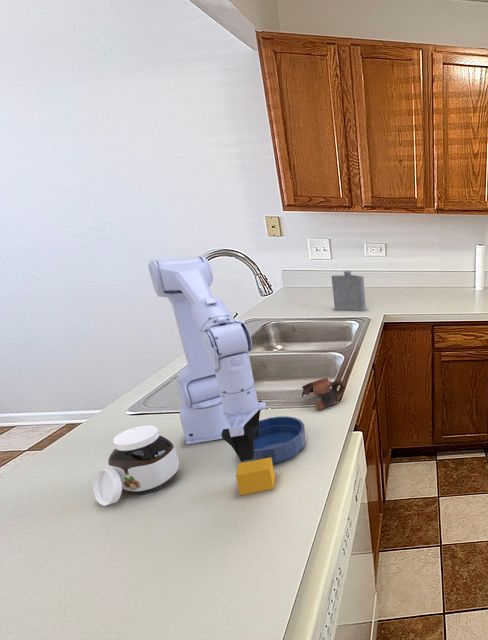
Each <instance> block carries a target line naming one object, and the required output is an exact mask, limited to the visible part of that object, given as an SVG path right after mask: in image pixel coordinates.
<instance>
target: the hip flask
mask: <svg viewBox="0 0 488 640" xmlns="http://www.w3.org/2000/svg"><path fill="white" fill-rule="evenodd" d="M343 274H344V275H343ZM343 274H342V275H337V274H335V275H331V285H332V296H333V304H334V310H335V311H356V312H364V311H365V312H366V310H367V305H366V293H365V280H364V279H365V278H364V276H363V275H359V274H352V271H351V270H344V271H343Z"/></svg>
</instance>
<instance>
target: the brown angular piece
mask: <svg viewBox="0 0 488 640" xmlns="http://www.w3.org/2000/svg"><path fill="white" fill-rule="evenodd" d="M338 386H340V388H339V390H338V389H337V388H338ZM301 388H302V392H301V397H302V398H304V396H309V395H310V394H311V393H313V394H314V395H316V396H318V397H319V399H320V400H319V401H317V402H315V403H314V407H315V409H316V410H317V411H320V410H323V409H326V408H329V407H332V406H335V405H336V404H337V400H338V399H339V397H340V396H342V395H343V394H344V393H345V391H346V384H345V382H344V381H343V380H335V381H330V380H329V378H328V377H323V378H319V379H318V380H315V381H312V382H309V383H307V384H303V386H301Z"/></svg>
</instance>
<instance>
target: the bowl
mask: <svg viewBox="0 0 488 640" xmlns="http://www.w3.org/2000/svg"><path fill="white" fill-rule="evenodd" d="M306 443H307V435H306V428H305V424H304V422H303V421H302V419H299V418H297V417H293V416H287V415H285V416H283V415H282V416H271V417H268V418H264V419H259V434H258V437H256V438H254V457H253V459H251V460H246V461H243V462H249V461H254V460H260V459H265V458H270V457H271V458H272V463H273V465H277V464H280V463H283V462H285V461H287V460H289V459H291V458H294V456H296V455H297V454H298V453H300V451H301V450H302V449H303V448H304V446H305V445H306Z"/></svg>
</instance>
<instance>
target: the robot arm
mask: <svg viewBox="0 0 488 640" xmlns="http://www.w3.org/2000/svg"><path fill="white" fill-rule="evenodd" d="M148 273H149V275H150V276H149V277H150V279H151V283H152V286H153V289H154V292H155V294H156V296H157V297H160V298H167V299H168V301H169V302H170V304H171V306H172V309H173V315H174V318H175V322H176V325H177V329H178V332H179V338H180V341H181V345H182V348H183V352H184V356H185V359H186V363H187V364H186V365H185V367H183V368H182V369H181V370H180V371H179V372H177V374H176V377H175V379H176V387H177V392H178V395H179V398H180V401H181V403H182V405H181V406H180V410H179V419H180V424H181V427H182V430H183V431H182V432H183V434H184V438H185V445H192V444H193V445H194V444H199V443H206V442H212V441H217V440H223V441H225V442H226V443H227V444H228V445H230V447H231V448H232V450H233V451H234V453H235V454H236V456H237V457H238V459H239V461H240V462H244V461H246V460H251V459H253V457H254V438H256V437H258V434H259V421H260V417H261V411H264V410H265V409H266V407H267V404H266V402H265V401H263V400H258V399H259V398H258V395H257V389H256V384H255V383H256V382H255V379H254V373H253V367H252V363H251V357H250V353H249V352H252V351H253V340H252V337H251V333H250V331H249V328H248V327H247V325H246V323H245V322H244V321H243V320H240V319H239V318H237V319H235V317H234V316H233V314H232V312H231V311H230V310H229V308H228V306H227V305H226V304H225V302H224V301H223V300H221V299H220V298H217V297H214V295H213V293H212V291H211V288H210V287H211V286H212V283H213V282H214V273H213V270H212V267H211V264H210V261H209V260H208V259H207V258H206V257H205V256H203V255H200V256H197V257H196V256H195V257H182V258H170V259H151V260H150V261H149V262H148Z"/></svg>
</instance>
